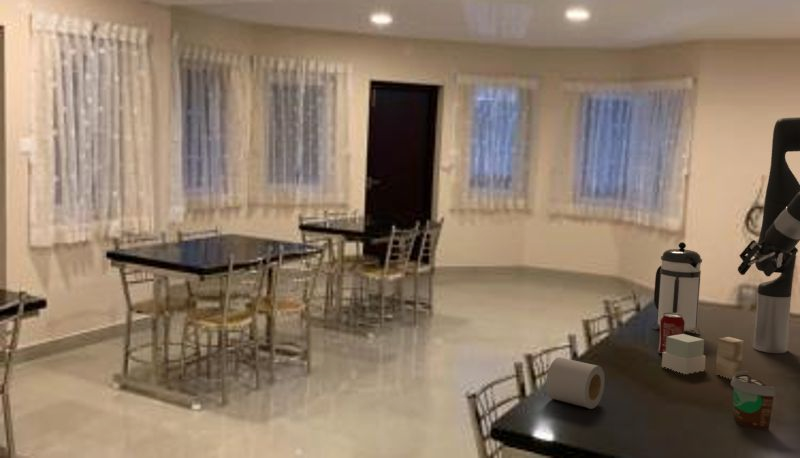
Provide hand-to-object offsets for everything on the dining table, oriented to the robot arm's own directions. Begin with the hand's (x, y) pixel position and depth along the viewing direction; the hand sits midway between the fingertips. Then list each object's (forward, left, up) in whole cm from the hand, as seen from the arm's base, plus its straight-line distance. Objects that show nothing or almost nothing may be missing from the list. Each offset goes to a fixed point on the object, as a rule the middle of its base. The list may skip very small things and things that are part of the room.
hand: (753, 273), depth 208 cm
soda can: (-1, -26, -29) cm, 39 cm away
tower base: (+8, -14, -29) cm, 33 cm away
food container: (+30, +21, -29) cm, 46 cm away
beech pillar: (+2, -4, -29) cm, 29 cm away
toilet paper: (+56, -6, -29) cm, 63 cm away
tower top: (+8, -14, -24) cm, 29 cm away
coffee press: (-26, -46, -29) cm, 60 cm away
